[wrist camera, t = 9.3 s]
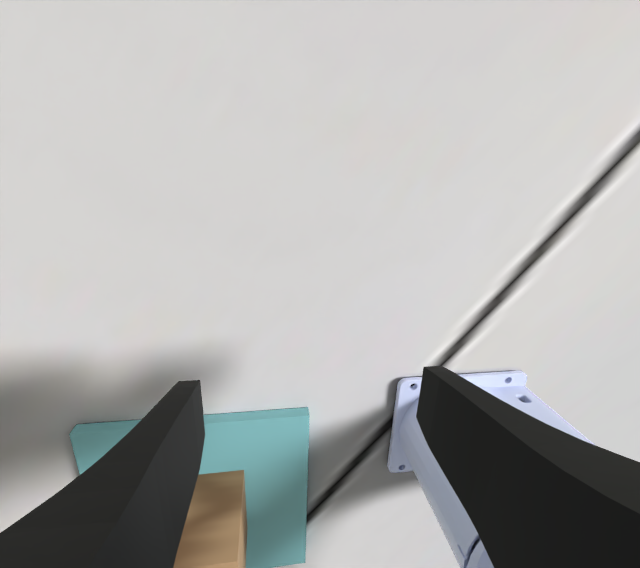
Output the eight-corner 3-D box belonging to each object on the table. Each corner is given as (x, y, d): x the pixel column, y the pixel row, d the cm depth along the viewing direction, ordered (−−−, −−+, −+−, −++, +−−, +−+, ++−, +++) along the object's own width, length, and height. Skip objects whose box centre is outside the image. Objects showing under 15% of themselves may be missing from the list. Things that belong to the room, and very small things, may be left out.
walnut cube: (244, 469, 22) (237, 561, 17) (247, 528, 24) (242, 627, 19) (155, 479, 21) (120, 578, 16) (166, 539, 23) (137, 645, 18)
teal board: (307, 407, 22) (309, 415, 21) (304, 551, 27) (305, 562, 26) (76, 424, 20) (69, 434, 19) (114, 578, 25) (110, 591, 24)
